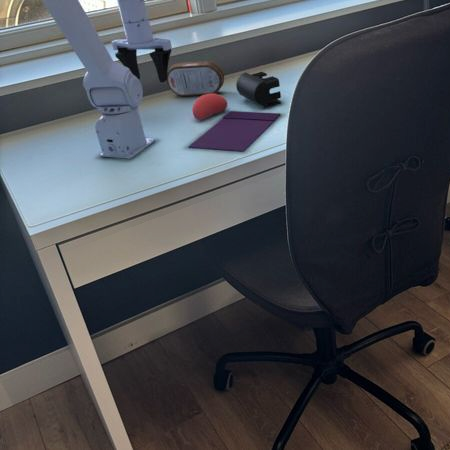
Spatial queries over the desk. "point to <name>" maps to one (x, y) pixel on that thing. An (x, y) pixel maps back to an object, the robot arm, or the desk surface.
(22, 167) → the desk surface
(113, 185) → the desk surface
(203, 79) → the tin
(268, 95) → the end cap
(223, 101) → the red oval piece
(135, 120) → the robot arm
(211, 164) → the desk surface
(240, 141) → the cloth
